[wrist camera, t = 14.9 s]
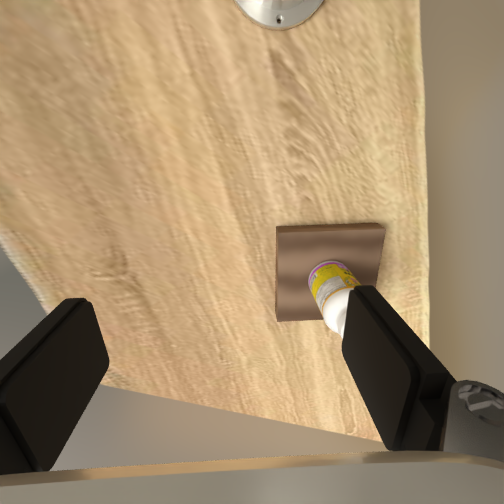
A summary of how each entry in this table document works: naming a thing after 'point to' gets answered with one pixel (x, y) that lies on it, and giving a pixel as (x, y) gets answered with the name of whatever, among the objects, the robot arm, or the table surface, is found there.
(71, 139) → the table surface
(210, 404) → the table surface
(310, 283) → the supplement bottle
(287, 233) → the block
